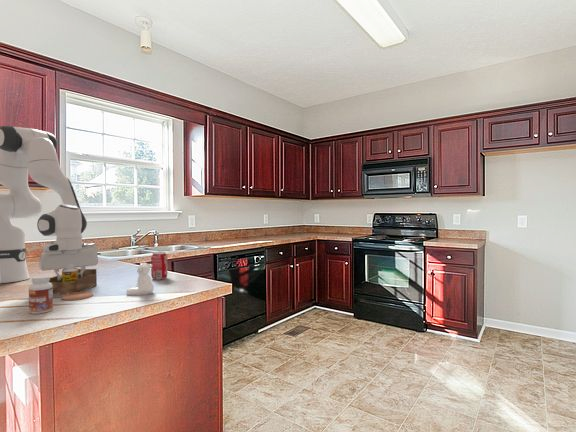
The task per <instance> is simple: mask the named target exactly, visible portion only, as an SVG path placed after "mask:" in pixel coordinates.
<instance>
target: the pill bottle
mask: <svg viewBox="0 0 576 432" xmlns="http://www.w3.org/2000/svg"><path fill="white" fill-rule="evenodd" d="M50 278H51V276H50V275H35V276H32V277H31V284H30V285H29V287H28V311H29V314H33V315H38V314H44V313H49V312H52V310H53V309H54V307H53V306H54V305H53V304H54V299H53V297H54V295H53V294H54V293H53V285H52V284H51V283H50V282H49V281H50Z"/></svg>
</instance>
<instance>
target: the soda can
mask: <svg viewBox="0 0 576 432" xmlns="http://www.w3.org/2000/svg"><path fill="white" fill-rule="evenodd" d="M150 259H151V260H150V264H152V267H151V268H150V274H151V276H150V277H151V279H153V280H154V281H160V279H162V280H166V279H167V277H168V256H167V253H166V252H165V251H164V252H163V251H158V252H157V251H156V252H152V255H151V257H150Z"/></svg>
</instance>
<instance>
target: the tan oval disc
mask: <svg viewBox="0 0 576 432" xmlns="http://www.w3.org/2000/svg"><path fill="white" fill-rule="evenodd" d="M93 296H94V292H93V291H87V290H86V291H85V290H83V291H80V292H73V293H64V294H62V295H61V300H63V301H79V300H85V299H89V298H91V297H93Z"/></svg>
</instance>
